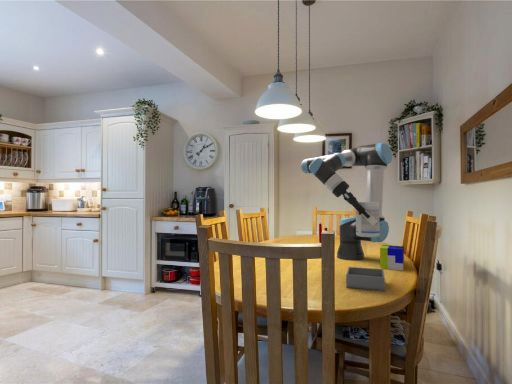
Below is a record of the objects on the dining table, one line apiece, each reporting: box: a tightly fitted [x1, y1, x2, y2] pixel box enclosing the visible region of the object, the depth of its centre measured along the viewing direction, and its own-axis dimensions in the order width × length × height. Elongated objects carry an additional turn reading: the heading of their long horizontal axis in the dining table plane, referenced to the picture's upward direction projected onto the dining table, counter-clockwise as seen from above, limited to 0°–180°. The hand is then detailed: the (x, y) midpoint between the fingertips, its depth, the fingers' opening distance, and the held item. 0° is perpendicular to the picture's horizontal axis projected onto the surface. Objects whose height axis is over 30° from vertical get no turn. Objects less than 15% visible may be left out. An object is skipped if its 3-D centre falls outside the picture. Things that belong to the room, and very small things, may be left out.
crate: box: [345, 266, 386, 292], centre depth 120 cm, size 14×14×5 cm
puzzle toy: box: [379, 244, 405, 271], centre depth 150 cm, size 10×10×10 cm
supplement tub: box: [355, 201, 380, 237], centre depth 130 cm, size 10×10×15 cm
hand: (375, 222), depth 129 cm, fingers closed on supplement tub, 9 cm apart
